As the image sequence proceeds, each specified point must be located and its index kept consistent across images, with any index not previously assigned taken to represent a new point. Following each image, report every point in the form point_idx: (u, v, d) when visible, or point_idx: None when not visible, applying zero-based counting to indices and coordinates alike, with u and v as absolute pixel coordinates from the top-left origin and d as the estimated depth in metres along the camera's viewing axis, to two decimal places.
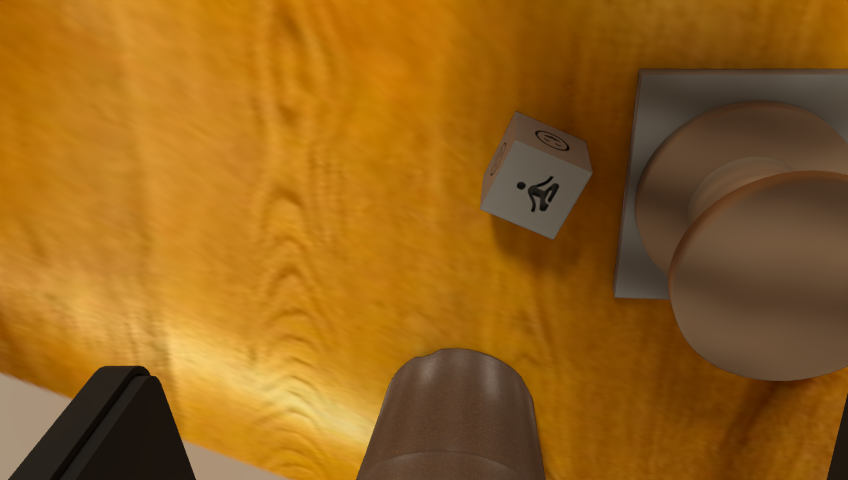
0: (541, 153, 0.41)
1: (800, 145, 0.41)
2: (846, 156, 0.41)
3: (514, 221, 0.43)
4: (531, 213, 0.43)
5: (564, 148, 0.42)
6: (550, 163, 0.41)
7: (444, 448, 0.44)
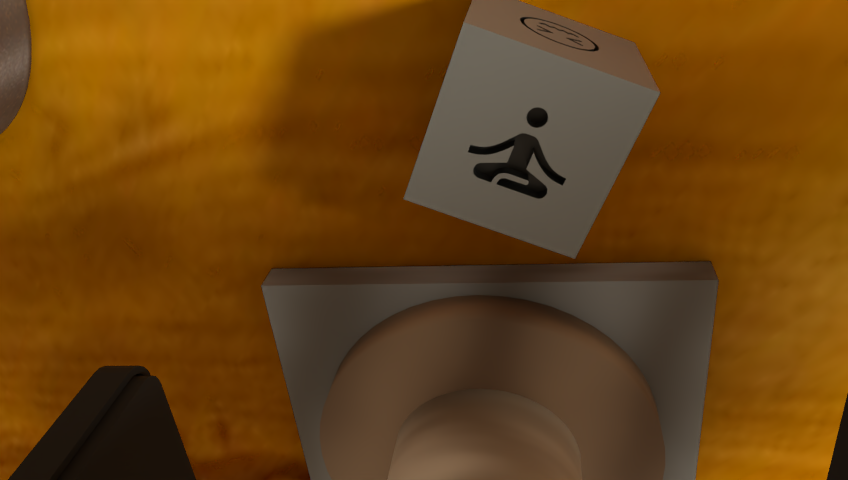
0: (622, 154, 0.18)
1: None
2: None
3: (438, 110, 0.18)
4: (464, 146, 0.18)
5: None
6: (597, 175, 0.18)
7: None
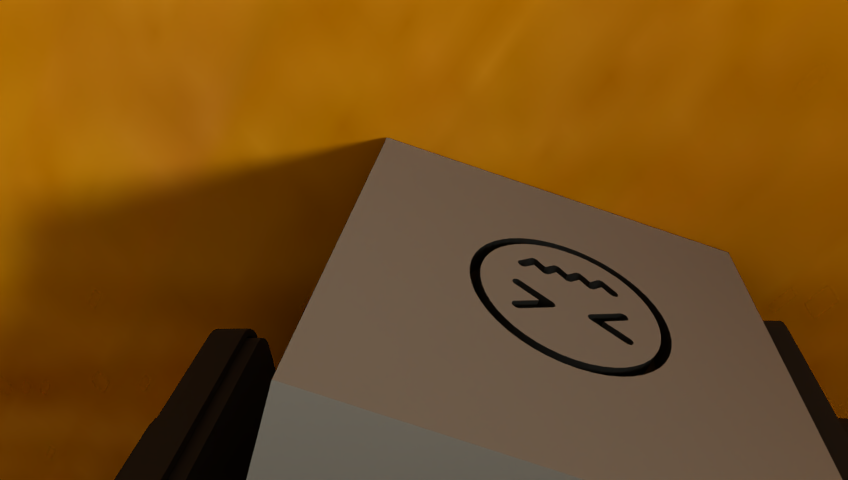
0: None
1: None
2: None
3: None
4: None
5: None
6: None
7: None
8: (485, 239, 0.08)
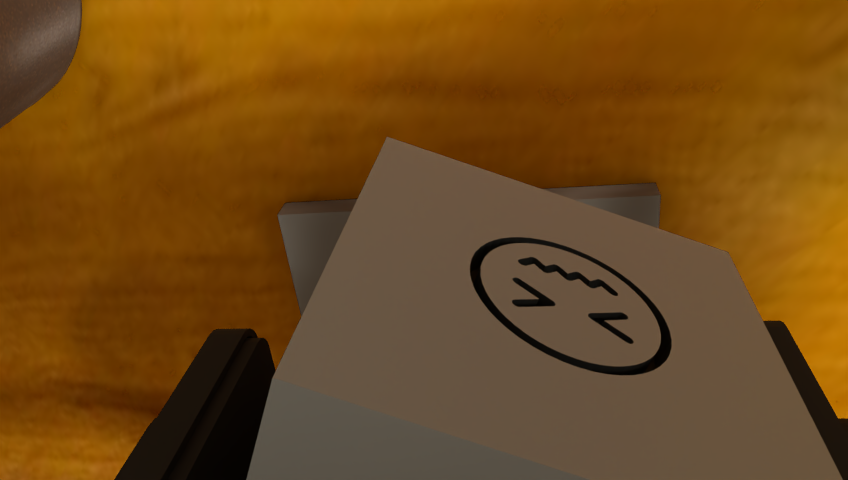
0: None
1: None
2: None
3: None
4: None
5: None
6: None
7: None
8: (485, 238, 0.08)
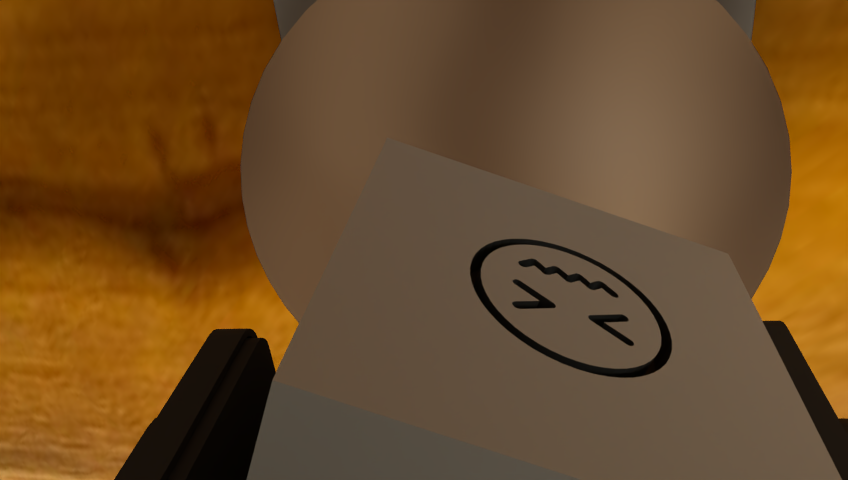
0: None
1: None
2: None
3: None
4: None
5: None
6: None
7: None
8: (485, 240, 0.08)
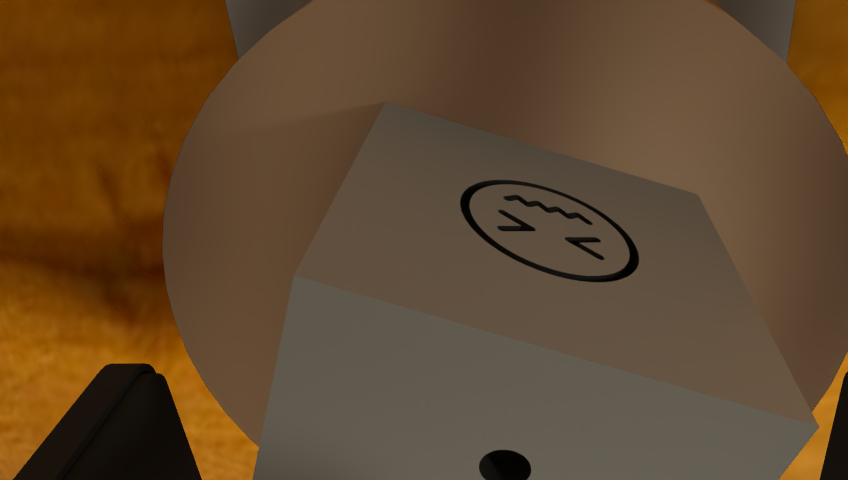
0: None
1: None
2: None
3: (270, 450, 0.07)
4: None
5: None
6: None
7: None
8: (474, 180, 0.09)
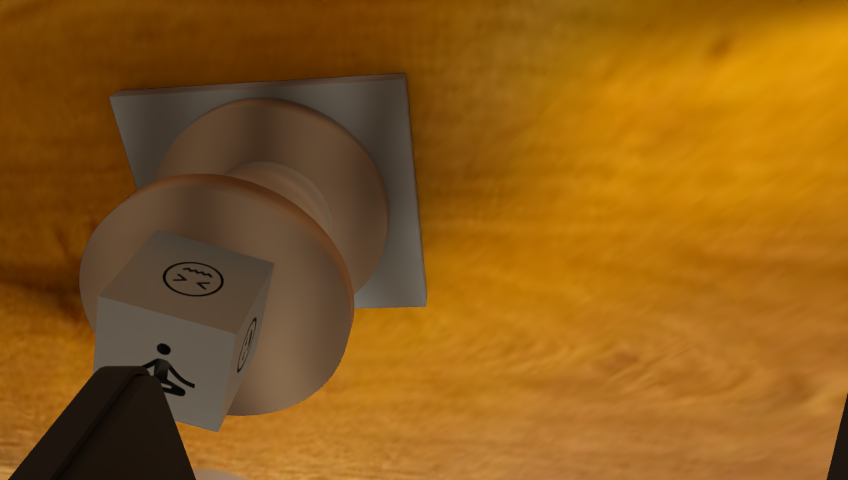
0: (226, 369, 0.26)
1: (350, 252, 0.39)
2: None
3: (98, 345, 0.26)
4: None
5: (240, 366, 0.28)
6: (214, 382, 0.26)
7: None
8: (175, 262, 0.27)
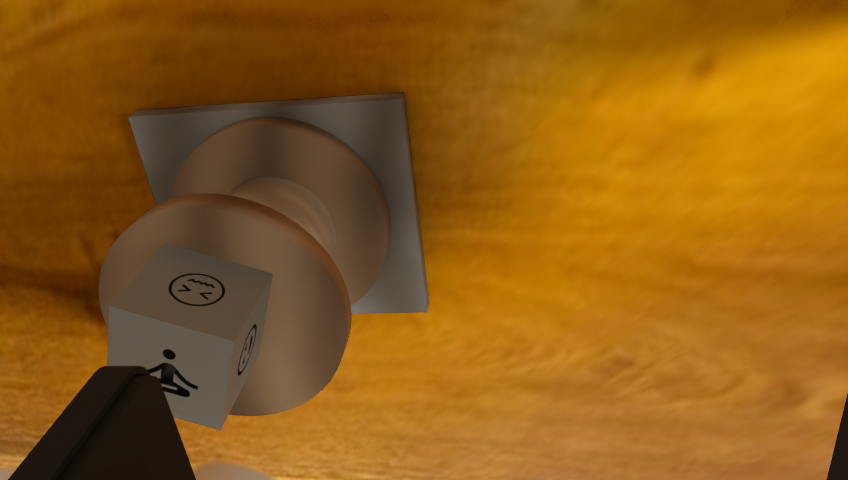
0: (225, 373, 0.28)
1: (353, 261, 0.41)
2: (349, 299, 0.43)
3: (110, 351, 0.28)
4: None
5: (241, 369, 0.31)
6: (215, 384, 0.28)
7: None
8: (181, 274, 0.30)
